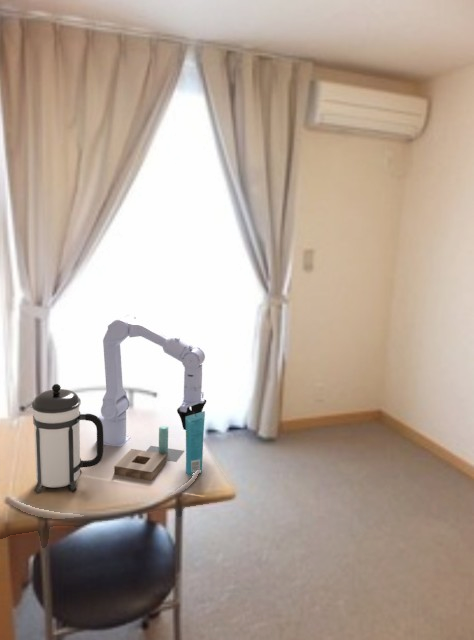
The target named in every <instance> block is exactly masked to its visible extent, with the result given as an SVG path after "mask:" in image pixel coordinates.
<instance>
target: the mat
mask: <svg viewBox="0 0 474 640" xmlns="http://www.w3.org/2000/svg"><path fill="white" fill-rule="evenodd" d="M145 451H149V452H155V453H159V446H156V445H150V446H149V447H148V448H147V449H146V450H145ZM184 453H185V450H181V449H175V448H169V447H168V454H167V455H166V462H167V461H168V462H175V463H177V461H178V460H179V459H180V458H181V456H182V455H183V454H184Z"/></svg>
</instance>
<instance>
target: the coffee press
mask: <svg viewBox="0 0 474 640" xmlns="http://www.w3.org/2000/svg"><path fill="white" fill-rule="evenodd" d="M61 387H62V386H61V385H60V384H58V383H55V384H53V385H52V386H51V389H49V390H45V391H42V392H40V393H39V394H37V396H35V397H34V400H33V401H32V402H31V406H30V407H29V408H28V410H27V412H28V413H32V414H33V415H32V421H33V425H34V448H35V449H34V451H35V453H34V454H35V474H36V477H35V478H36V481H37V483H36V485H35V486H34V489H33V491H34V492H35V493H36V494H41V492H42V491H43V490H44V488H46V487H47V488H61V487H62V488H63V487H68V489H69V492H71V493H73V492H75V491H77V490H78V487H77V485H76V481H77V480H78V479H79V477H80V475H81V474H82V470H81V469H82V468H83V469H84V468H92V467H94V466H97V465H98V464H99V463H100V462H101V461H102V458H103V455H104V445H103V425H102V422H101V420H100V419H99V417H98V416H97V415H95V414H92V413H83V414H82V413H81V411H80V405H81V404H82V403H81V398H80V397H79V396H78V394H77V393H76V392H75V391H72V390H69V389H66V388H65V389H64V388H61ZM80 421H89V422H91V423H93V424H94V426H95V427H96V441H97V444H96V455H95V457H94V458H92V459H87V460H82V458H81V440H80V439H81V434H80V431H81V430H80V427H81V426H80V425H81V424H80Z"/></svg>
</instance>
